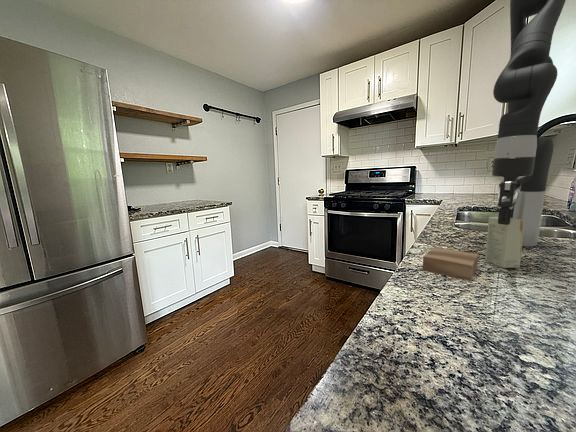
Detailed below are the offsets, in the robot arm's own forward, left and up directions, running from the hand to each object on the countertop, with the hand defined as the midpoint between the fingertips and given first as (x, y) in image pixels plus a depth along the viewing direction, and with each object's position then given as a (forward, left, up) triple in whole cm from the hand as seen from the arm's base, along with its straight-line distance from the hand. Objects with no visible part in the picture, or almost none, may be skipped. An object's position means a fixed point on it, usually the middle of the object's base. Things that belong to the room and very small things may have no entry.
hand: (505, 221), depth 63 cm
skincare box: (0, 0, -12) cm, 12 cm away
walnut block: (+12, -9, -12) cm, 19 cm away
